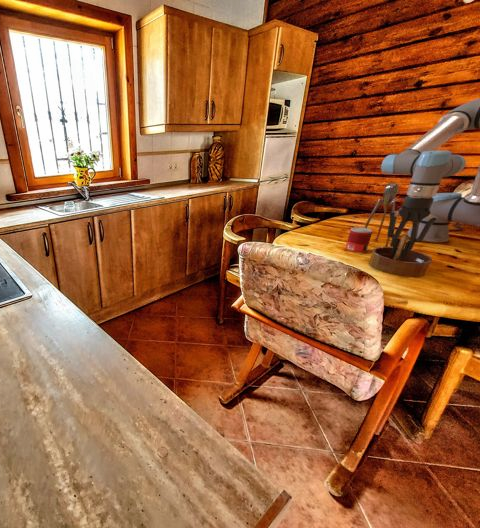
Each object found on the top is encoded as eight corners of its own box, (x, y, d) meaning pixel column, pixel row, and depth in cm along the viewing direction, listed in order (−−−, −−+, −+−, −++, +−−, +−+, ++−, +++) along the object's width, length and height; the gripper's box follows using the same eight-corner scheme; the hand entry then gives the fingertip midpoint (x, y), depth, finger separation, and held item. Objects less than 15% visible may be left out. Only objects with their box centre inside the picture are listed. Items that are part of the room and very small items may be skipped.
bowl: (377, 257, 126) (382, 244, 123) (431, 270, 112) (438, 255, 109) (360, 267, 117) (365, 253, 115) (416, 282, 103) (423, 267, 101)
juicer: (376, 240, 145) (396, 181, 133) (387, 247, 135) (408, 184, 123) (354, 239, 148) (371, 181, 136) (363, 246, 138) (381, 185, 126)
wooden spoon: (388, 266, 115) (400, 232, 109) (401, 269, 112) (415, 234, 106) (383, 269, 113) (396, 234, 107) (397, 272, 110) (411, 236, 104)
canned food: (366, 255, 128) (374, 232, 124) (345, 252, 132) (351, 230, 128) (364, 249, 134) (371, 228, 130) (344, 247, 138) (350, 226, 134)
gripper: (388, 195, 105) (369, 252, 114) (447, 200, 93) (421, 264, 102) (395, 192, 108) (377, 248, 118) (453, 197, 96) (427, 259, 106)
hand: (397, 255), depth 110 cm, fingers open, 2 cm apart
